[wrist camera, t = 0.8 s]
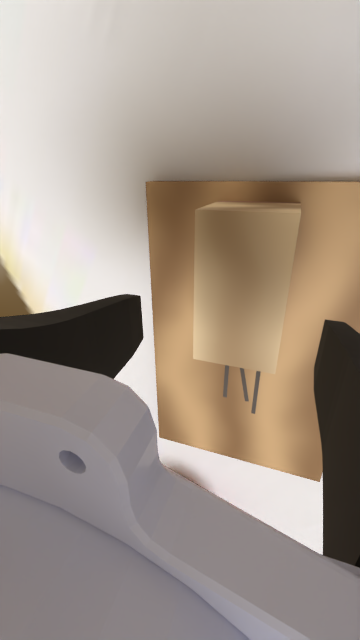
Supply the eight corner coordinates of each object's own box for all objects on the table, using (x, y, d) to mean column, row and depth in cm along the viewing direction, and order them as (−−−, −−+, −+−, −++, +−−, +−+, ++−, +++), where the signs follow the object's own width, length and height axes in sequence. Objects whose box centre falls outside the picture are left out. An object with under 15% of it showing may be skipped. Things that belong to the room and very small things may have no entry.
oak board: (401, 181, 16) (408, 182, 15) (318, 469, 25) (319, 482, 24) (153, 181, 20) (145, 181, 19) (164, 428, 30) (159, 437, 29)
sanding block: (300, 202, 17) (300, 213, 12) (280, 331, 20) (275, 374, 16) (219, 200, 18) (195, 209, 14) (213, 321, 21) (192, 358, 17)
